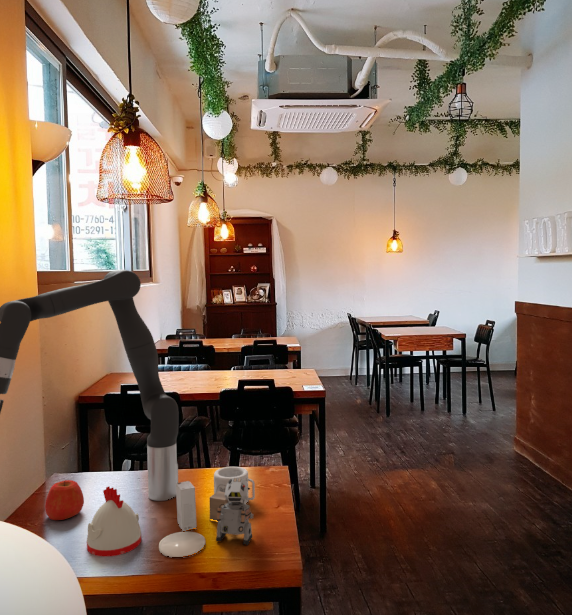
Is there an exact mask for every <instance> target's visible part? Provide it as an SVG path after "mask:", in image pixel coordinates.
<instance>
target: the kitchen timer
mask: <svg viewBox="0 0 572 615" xmlns="http://www.w3.org/2000/svg"><path fill="white" fill-rule="evenodd" d="M102 492H103V496H104V497H103V498H104V499H105V500H104V501H105V502H104V503H103V504H102V505H100V507H99V508H98V509H97V510H96V511H95V514H94V515H93V518H92V520H91V522H90V523H88V524H87V537H86V549H87V552H89V554H91V555H93V556H97V557H113V556H114V557H115V556H120V555H123V554H127V553H129V552H131V551H133V550H135V549H136V548H137V547H139V545H141V542H142V530H141V526H140V522H139V521H140V517H139V516H140V515H139V514H138V512H137V513H135V512H134V509H132V507H131V506H130V505H129V504H128V503H127V502H125V501H124V499H120V498H121V494H120V493H119V494H118V489H117V488H114V487H110V486H106V487H105V489H103V490H102ZM126 552H127V553H126Z"/></svg>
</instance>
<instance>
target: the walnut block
mask: <svg viewBox="0 0 572 615" xmlns="http://www.w3.org/2000/svg"><path fill="white" fill-rule="evenodd" d="M224 494H225V492H220V491H217V492H216V493H215V494H214V493H213V494H212V495H211V496H209V520H210V519H213V520H217V510H218V508H219V506H220V505H221V504H227V503H228V500H227V499H226V498H225V495H224ZM221 506H223V505H221ZM221 506H220V508H221Z"/></svg>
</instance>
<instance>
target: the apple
mask: <svg viewBox="0 0 572 615" xmlns="http://www.w3.org/2000/svg"><path fill="white" fill-rule="evenodd" d="M84 504H85V498H84V493H83V491H82V488H81V487H80V485H79V483H78V482H77V481H75V480H71V479H68V480H67V479H65V480H61V481H57V482H56V483H54V484H52V486H51V487H50V489H49V491H48V493H47V495H46V498H45V505H44V506H45V507H44V508H45V514H46V515H47V517H48V518H49V519H50V520H52V521H61V520H63V521H65V520H66V519H70V518H72V517H74V516H77V515H78V514H80V512H81V511H82V510H83V506H84Z"/></svg>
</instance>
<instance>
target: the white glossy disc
mask: <svg viewBox="0 0 572 615" xmlns="http://www.w3.org/2000/svg"><path fill="white" fill-rule="evenodd" d="M204 545H205V546H206V538H205V536H203V535H202V534H200V533H198V532H195V531H185V532H183V531H178V532H173V533H170V534H168V535H166V536H164V537H163V538H162V539H161V540H160V541H159V544H158V551H159V554H161V553H162V555H163V556H165V557H167V556H169V557H168V558H172V557H183V556H188V555H192V554H194V553H197V552H198V551H200V550H201V549H202V548H203V547H204ZM204 548H205V547H204ZM204 548H203V549H204ZM200 552H201V551H200ZM197 554H198V553H197ZM192 556H193V555H192ZM183 558H184V557H183Z"/></svg>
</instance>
